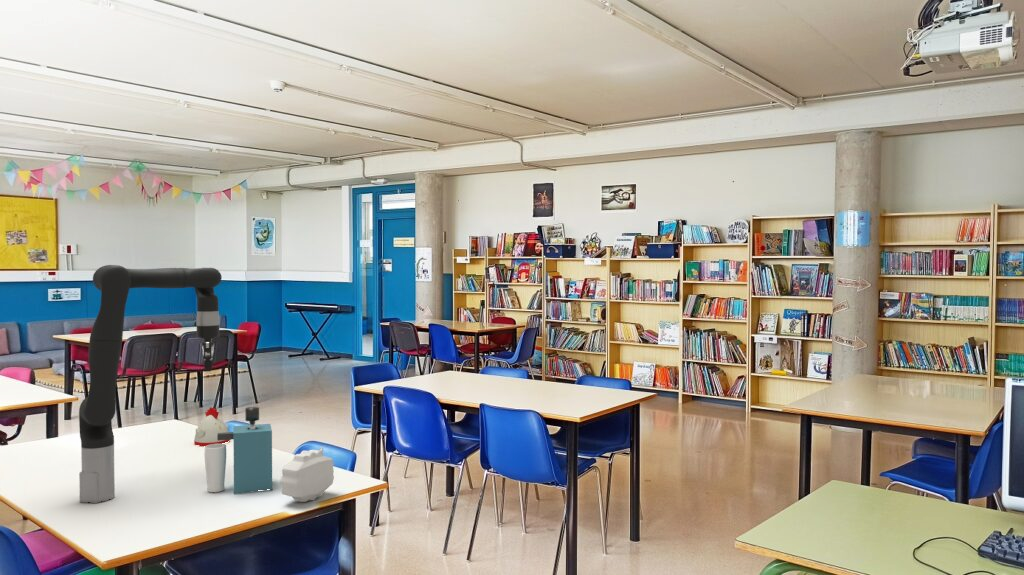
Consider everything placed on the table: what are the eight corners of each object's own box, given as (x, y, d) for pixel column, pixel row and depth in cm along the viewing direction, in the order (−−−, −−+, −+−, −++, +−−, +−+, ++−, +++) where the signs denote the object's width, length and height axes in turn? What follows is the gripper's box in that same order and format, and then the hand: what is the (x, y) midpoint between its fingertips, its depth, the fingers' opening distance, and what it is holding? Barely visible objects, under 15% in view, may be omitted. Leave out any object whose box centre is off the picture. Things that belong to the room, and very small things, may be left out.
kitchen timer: (207, 448, 308) (207, 412, 308) (187, 443, 316) (187, 408, 315) (236, 441, 320) (236, 406, 319) (216, 437, 327) (216, 403, 327)
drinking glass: (212, 495, 244) (211, 449, 244) (200, 491, 249) (200, 446, 248) (230, 490, 250) (230, 445, 249) (219, 486, 254) (219, 442, 254)
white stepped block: (338, 494, 245) (338, 446, 245) (299, 510, 229) (299, 458, 229) (313, 489, 250) (313, 442, 250) (273, 504, 234) (272, 454, 234)
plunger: (259, 450, 256) (258, 406, 255) (259, 453, 252) (259, 408, 251) (245, 451, 254) (245, 407, 254) (245, 454, 250) (245, 409, 250)
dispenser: (270, 480, 261) (270, 423, 260) (272, 490, 250) (271, 430, 249) (218, 485, 255) (217, 427, 255) (217, 495, 244) (217, 434, 243)
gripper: (218, 325, 259) (219, 371, 260) (219, 322, 273) (220, 366, 273) (195, 325, 257) (195, 372, 257) (197, 322, 270) (197, 367, 271)
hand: (208, 369), depth 265 cm, fingers open, 8 cm apart
